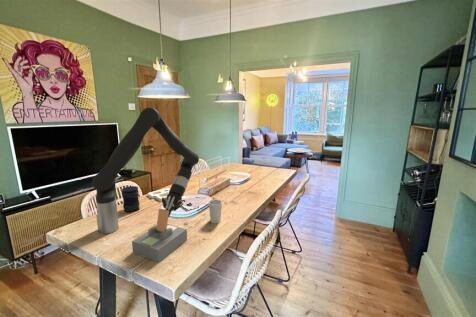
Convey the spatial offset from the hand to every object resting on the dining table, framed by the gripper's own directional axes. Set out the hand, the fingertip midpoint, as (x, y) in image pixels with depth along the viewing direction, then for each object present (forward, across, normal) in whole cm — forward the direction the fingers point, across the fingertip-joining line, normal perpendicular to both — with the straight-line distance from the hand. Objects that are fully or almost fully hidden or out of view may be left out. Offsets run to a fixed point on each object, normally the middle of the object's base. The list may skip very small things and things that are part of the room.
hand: (165, 217), depth 114 cm
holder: (-20, -34, +42) cm, 57 cm away
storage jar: (-4, -48, +24) cm, 53 cm away
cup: (-11, +11, +32) cm, 36 cm away
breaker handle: (+8, 0, +2) cm, 8 cm away
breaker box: (+12, 0, +6) cm, 14 cm away
